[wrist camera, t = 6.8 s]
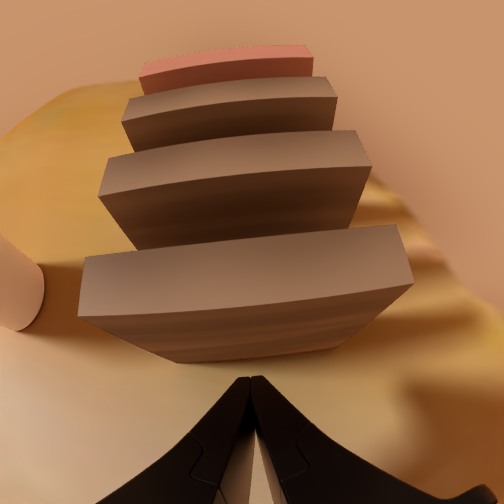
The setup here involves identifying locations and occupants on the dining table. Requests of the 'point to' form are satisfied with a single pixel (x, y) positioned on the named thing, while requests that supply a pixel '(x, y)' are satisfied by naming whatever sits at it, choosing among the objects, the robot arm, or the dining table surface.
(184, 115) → the tile
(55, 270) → the dining table surface
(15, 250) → the can
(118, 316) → the tile
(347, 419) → the dining table surface
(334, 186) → the tile
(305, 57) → the tile
